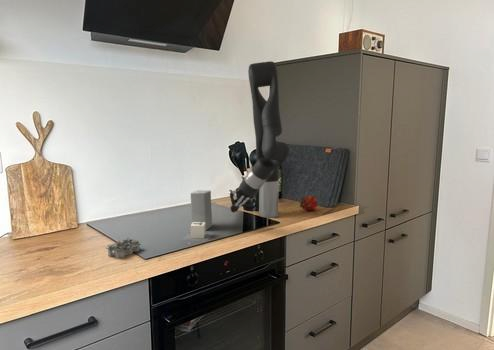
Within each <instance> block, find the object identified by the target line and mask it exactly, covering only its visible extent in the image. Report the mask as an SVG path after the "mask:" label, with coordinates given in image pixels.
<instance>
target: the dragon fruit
mask: <svg viewBox="0 0 494 350" xmlns="http://www.w3.org/2000/svg"><path fill="white" fill-rule="evenodd" d="M299 205H300V208H302V209H303V210H304V211H305V210H307V211H306V212H308V211H312V212H313V211H315V210H316V208H317V207H318V205H319V203H318V199H317V197H315V196H314V195H305V196H302V197H301V198H300V201H299Z"/></svg>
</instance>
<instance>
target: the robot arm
mask: <svg viewBox="0 0 494 350" xmlns="http://www.w3.org/2000/svg"><path fill="white" fill-rule="evenodd" d="M278 75H279V74H278V70H277V65H276V63H275V62H274V61H263V62H256V63H255V62H254V63H250V64H249V65H248V81H249V87H250V94H251V95H250V96H251V100H252V101H251V102H252V116H253V117H252V118H253V126H254V127H253V129H254V135H255V136H254V137H255V156H256V162H255V163H254V165H253V166H252V168H251V169H250V170H249V171H248V172H247V174H246V175H245V176H244V177H243V180H242V181H241V182H240V184H239V186H238V187H237V188H235V190H232V189H229V190H228V194H229V196H230V197H229V198H230V201H231V206H230V213H231V212H232V213H236V212H237V211H239V209H240V208H241V207H243V208H246V207H248V206H250V205H253V204H255V203H257V200H256V199H257V198H256V197H255V196H256V195H257V194H258V216H259V217H262V218H269V219H270V218H277V217H278V216H279V190H280V189H279V183H280V182H279V180H280V179H279V177H280V176H279V175H280V166H281V165H282V164H283V163H284V162H285V161H286V160H288V159H287V158H288V157H289V156H290V147H289V145H288V144H287V143H285V142H283V141H277V139H276V138H277V137H279V136H280V135H281V134H282V133H283V126H282V119H281V113H280V94H279V79H278V78H279V76H278ZM264 87H270V91H269V95H268V98H267V100H266V99H265V98H264V97H263V95H262V93H261V91H260V89H259V88H264ZM234 197H235V198H234Z"/></svg>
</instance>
